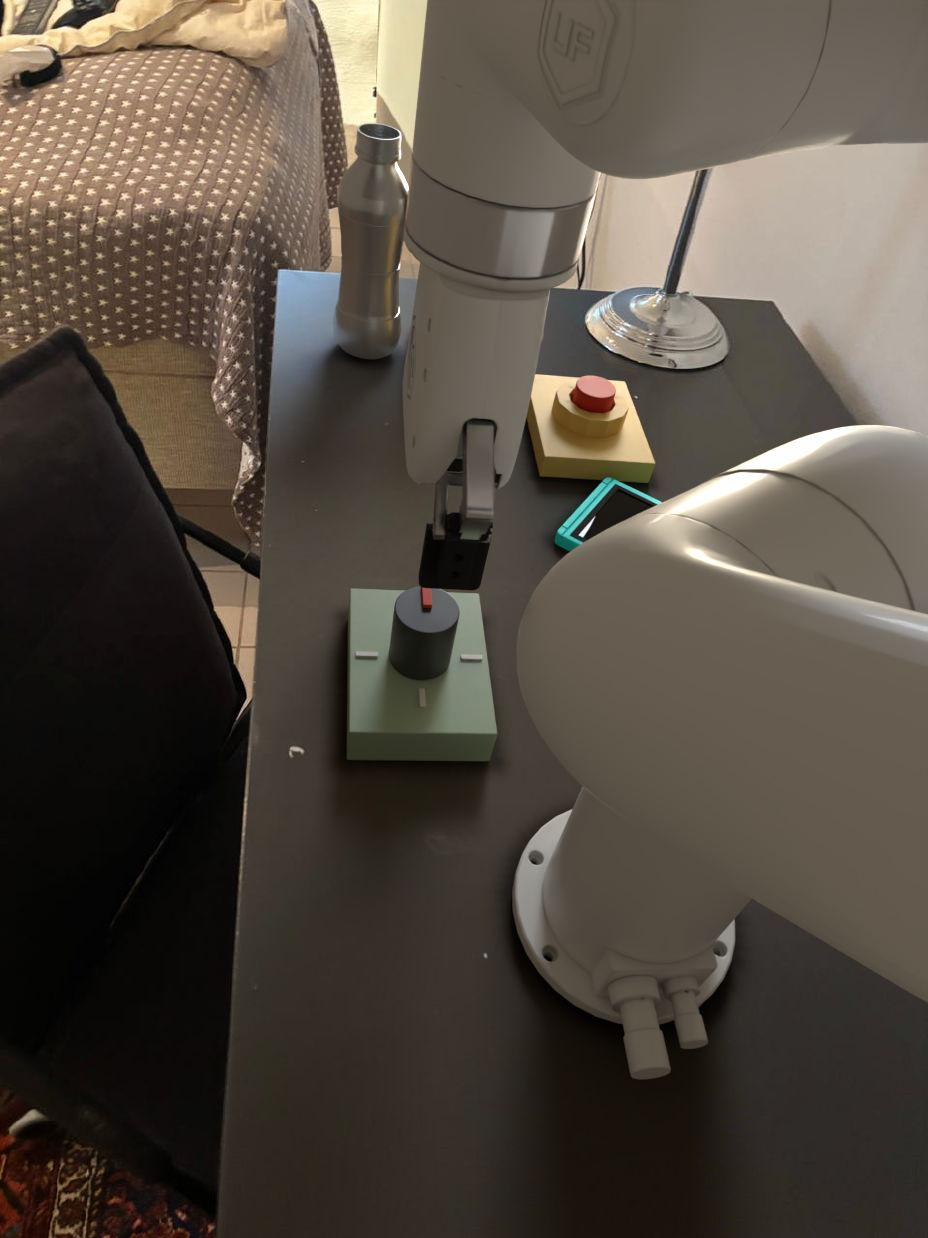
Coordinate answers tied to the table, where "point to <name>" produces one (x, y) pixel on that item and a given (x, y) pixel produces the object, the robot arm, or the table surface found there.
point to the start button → (594, 394)
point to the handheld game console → (602, 512)
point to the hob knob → (423, 632)
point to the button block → (586, 434)
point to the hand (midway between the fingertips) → (442, 522)
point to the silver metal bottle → (371, 245)
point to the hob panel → (416, 689)
